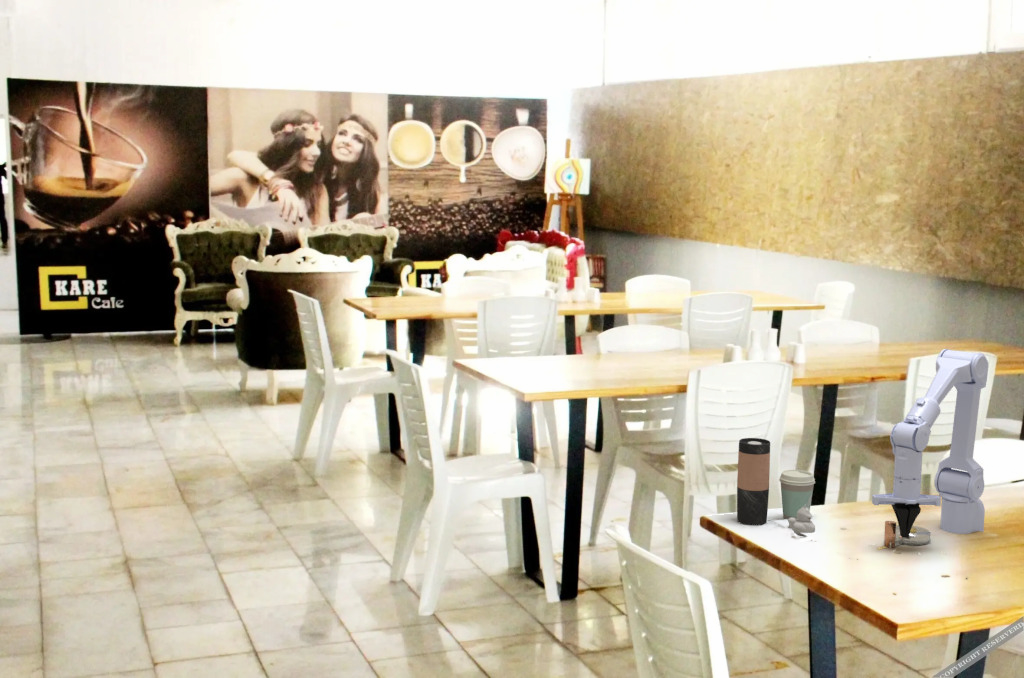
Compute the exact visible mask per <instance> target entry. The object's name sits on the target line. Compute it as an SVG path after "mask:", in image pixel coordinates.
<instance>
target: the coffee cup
mask: <svg viewBox="0 0 1024 678" xmlns="http://www.w3.org/2000/svg"><path fill="white" fill-rule="evenodd" d="M815 480H816V478H815V477H814V473H813V472H811V471H808V470H802V469H785V470H782V471H781V474H780V476H779V479H778V481H779V482H780V493H781V494H780V495H781V505H782V507H781V508H782V517H783V520H788V519H789V518H791V517H793V518H796V519H797V516H796V514H797V512H798V510H799V509H801V508H802V507H804V505H805V504H806V507H807V508H808V509H809V511H811V505H812V497H813V491H814V484H816V481H815Z"/></svg>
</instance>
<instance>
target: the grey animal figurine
mask: <svg viewBox="0 0 1024 678" xmlns="http://www.w3.org/2000/svg"><path fill="white" fill-rule="evenodd" d="M810 511H811V510H810ZM810 511H809V509H808V508H807V507H806V504H805V505H804V507H802V508H801V509H799V510H798V512H797V514H796V516H797V519H796V518H793V517H791V518H789V519H787V521H788V529H792V531H793V533H794V534H796V536H798V537H802V538H803V537H804V538H806V537H808V536H807V535H806V533H807V534H808V533H810V534H812V533H814V532H815V531H816V526H815V524H814V521H812V518H813V514H812V513H811V512H810Z"/></svg>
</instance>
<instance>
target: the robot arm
mask: <svg viewBox="0 0 1024 678" xmlns="http://www.w3.org/2000/svg"><path fill="white" fill-rule="evenodd" d="M935 372H936V373H935V374H934V377H933V379H932V381H931V383H930V385H929V387H928V389H927V391H926V393H925V395H924V397H923V396H921V397H919V398H917V399H916V400H915V402H914V404H913V405H912V406H911V408H910V409H909V411H908V412H907V414H906V416H905V417H904V418H903V421H900V422H898V423H896V424H895V425H894V426H893V427H892V429H891V433H890V436H889V439H890V444H891V446H892V454H893V455H894V466H893V467H894V468H893V469H894V470H893V484H892V485H893V488H892V489H893V490H892V493H891V492H890V493H879V494H878V493H877V494H871V495H872V496H871V503H872V504H873V505H874V506H880V505H888V506H889V505H891V507H892V510H893V511H894V514H895V515H894V516H895V517H896V520H897V523H898V525H899V529H900V535H901V536H902V537H903V538H909V534H910V531H911V528H912V526H914V523H915V521H916V519H917V517H919V515H920V513H921V510H922V508H921V506H935V507H941V509H940V525H939V526H940V528H939V529H941V530H942V531H943V532H947V533H951V534H956V535H958V534H959V535H966V534H971V533H974V532H981V533H984V531H985V530H984V529H985V516H986V515H985V513H986V511H985V506H984V502H983V501H982V500H981V497H982V495H983V493H984V490H985V479H984V468H983V467H982V466H981V464H979V463H978V462H977V460H975V459H974V450H975V444H976V443H975V441H976V433H977V426H978V416H979V409H980V402H981V401H980V400H981V393H982V389H984V388H986V387H987V382H988V381H987V380H988V373H989V361H988V360H987V357H986V356H985V354H984V353H982V352H979V353H978V352H969V351H963V350H952V349H948V348H944V349H942V350H941V351H940V352H939V354H938V355H937V358H936V360H935ZM953 387H954V388H955V389H956V398H955V399H956V400H955V405H954V415H953V423H952V424H953V426H952V435H951V443H950V452H949V456H948V457H946V458H944V459H943V460H941V461H939V463H938V468H937V471H936V473H935V476H934V483H933V484H934V488H935V491H936V492H937V493H939V494H937V495H936V494H935V495H934V494H933V495H932V494H923V493H921V486H922V485H921V484H922V465H923V452H924V450H925V449H926V448H927V447H928V444H929V441H930V440H929V439H930V436H931V433H932V431H931V428H932V427H933V425H934V424H935V422H936V420H937V419H938V417H939V415H940V414H941V413H942V412H941V407H940V404H941V403H942V402H943V400H944V399H945V398H946V397H947V395H948V394H949V393H950V391H951V390H952V389H953Z"/></svg>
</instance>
